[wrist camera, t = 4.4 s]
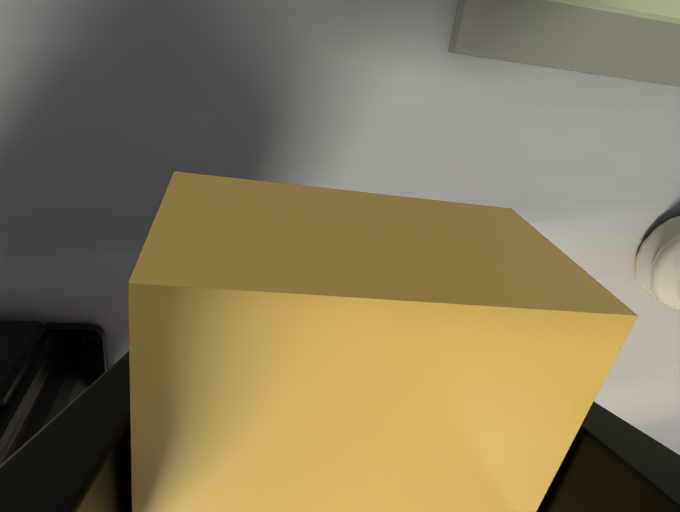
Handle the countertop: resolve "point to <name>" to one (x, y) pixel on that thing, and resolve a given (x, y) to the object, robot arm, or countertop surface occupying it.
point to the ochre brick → (355, 352)
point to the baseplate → (575, 35)
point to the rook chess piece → (661, 263)
